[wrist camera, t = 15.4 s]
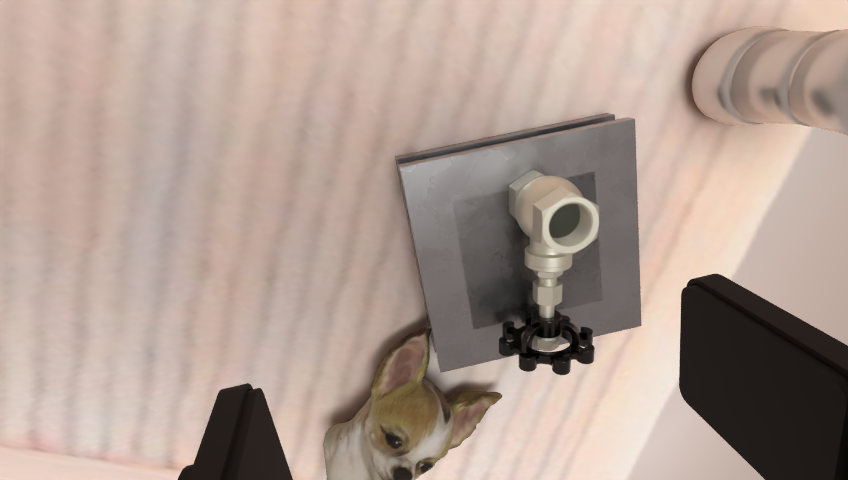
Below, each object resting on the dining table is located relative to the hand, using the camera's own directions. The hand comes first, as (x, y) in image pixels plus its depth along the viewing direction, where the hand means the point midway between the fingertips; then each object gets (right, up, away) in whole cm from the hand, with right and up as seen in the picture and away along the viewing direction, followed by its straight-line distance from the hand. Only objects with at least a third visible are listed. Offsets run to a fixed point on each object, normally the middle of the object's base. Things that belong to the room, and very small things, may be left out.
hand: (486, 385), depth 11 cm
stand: (+6, +3, +29) cm, 30 cm away
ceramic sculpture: (-4, -11, +33) cm, 35 cm away
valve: (+6, +3, +25) cm, 26 cm away
